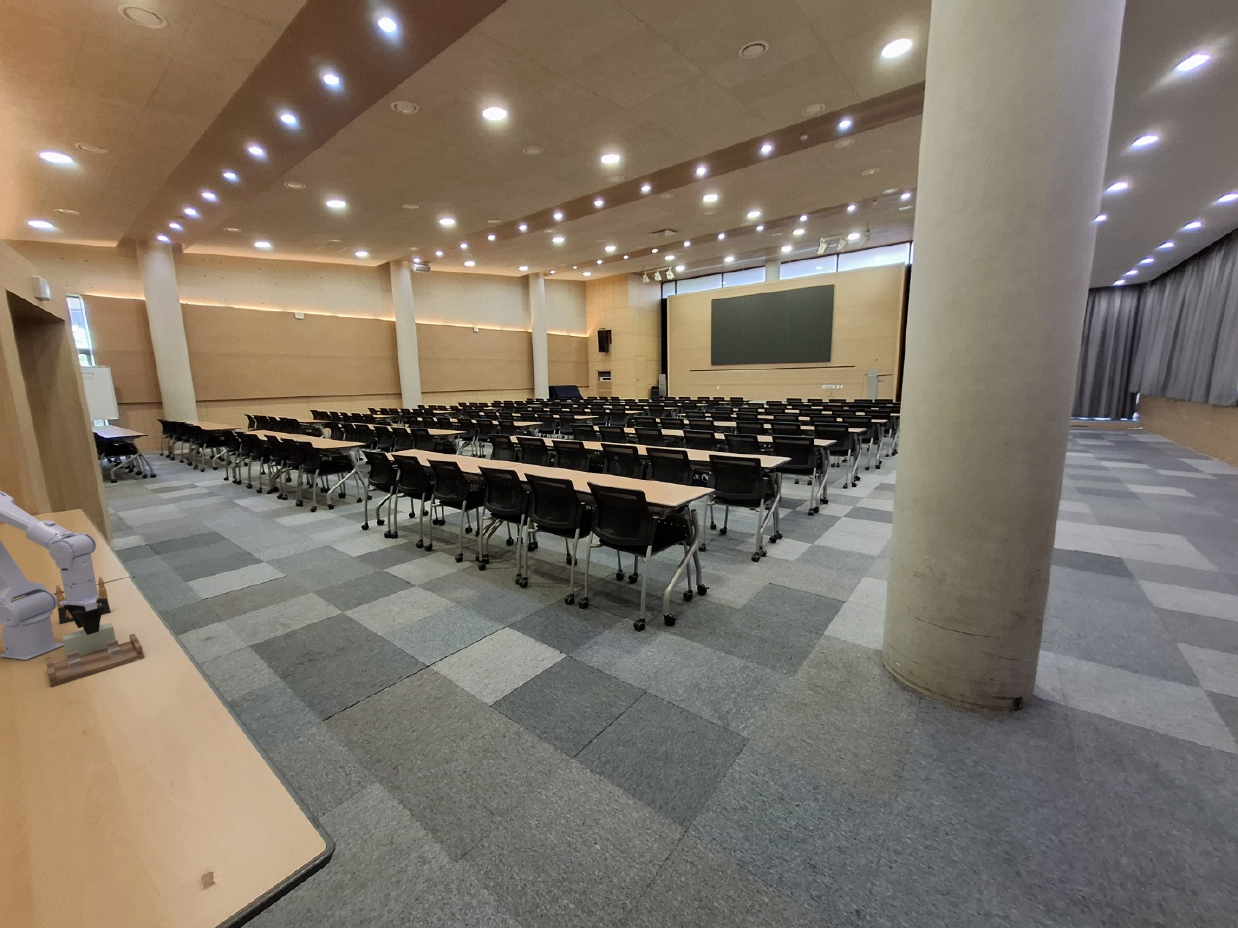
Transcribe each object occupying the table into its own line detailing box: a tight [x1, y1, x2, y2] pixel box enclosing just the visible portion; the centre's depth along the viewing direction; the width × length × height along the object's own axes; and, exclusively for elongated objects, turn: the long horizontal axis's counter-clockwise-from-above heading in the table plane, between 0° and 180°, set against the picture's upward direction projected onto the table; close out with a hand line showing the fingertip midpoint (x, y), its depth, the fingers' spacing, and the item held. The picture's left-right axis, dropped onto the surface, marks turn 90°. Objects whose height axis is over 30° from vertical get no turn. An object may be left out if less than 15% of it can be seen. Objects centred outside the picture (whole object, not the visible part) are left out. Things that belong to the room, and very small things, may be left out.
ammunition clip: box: [55, 576, 112, 625], centre depth 151 cm, size 11×2×12 cm, turn 136°
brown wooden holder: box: [45, 633, 145, 688], centre depth 125 cm, size 12×16×4 cm
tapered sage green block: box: [61, 622, 116, 660], centre depth 131 cm, size 4×9×6 cm, turn 142°
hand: (88, 629), depth 131 cm, fingers open, 7 cm apart
